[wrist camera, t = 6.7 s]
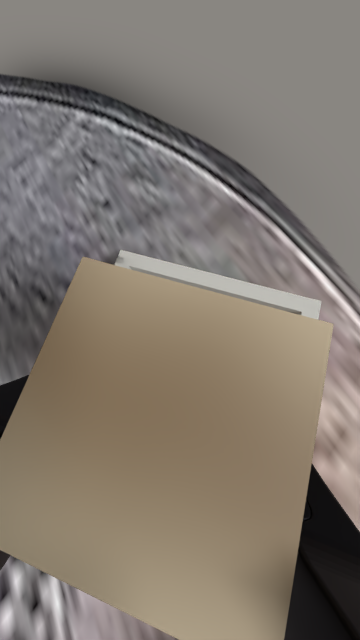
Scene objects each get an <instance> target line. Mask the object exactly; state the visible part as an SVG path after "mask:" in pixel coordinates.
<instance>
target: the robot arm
mask: <svg viewBox="0 0 360 640" xmlns="http://www.w3.org/2000/svg"><path fill="white" fill-rule="evenodd" d="M28 377H29V375H28V376H25V377H22V378H20V379H17V380H14V381H12V382H9V383H6V384H3V385H1V386H0V439H1V437H2V435H3V433H4V430H5V428H6V426H7V424H8V422H9V419H10V417H11V415H12V413H13V410H14V408H15V406H16V404H17V402H18V399H19V397H20V395H21V393H22V390H23V388H24V386H25V384H26V382H27V379H28ZM9 557H10V555H9V554H7V553H5V552H3V551H1V550H0V570H1V569H2V567H3V566H4V564H5V563H6V561H7V560H8V558H9ZM284 640H360V532H359V530H358V529H357V528H356V526H355V525H354V523H353V522H352V521H351V519H350V518H349V516H348V515H347V514H346V512H345V511H344V509H343V508H342V507H341V505H340V504H339V502H338V501H337V500H336V498H335V497H334V495H333V494H332V492H331V491H330V490H329V488H328V487H327V485H326V484H325V482H324V481H323V479H322V478H321V477H320V475H319V473H318V472H317V470H316V469H315V467H314V466H313V464H311V471H310V477H309V483H308V490H307V496H306V503H305V509H304V515H303V522H302V528H301V534H300V541H299V547H298V554H297V560H296V566H295V573H294V579H293V586H292V592H291V598H290V605H289V611H288V617H287V624H286V630H285V637H284Z"/></svg>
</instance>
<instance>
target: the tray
mask: <svg viewBox="0 0 360 640" xmlns="http://www.w3.org/2000/svg"><path fill="white" fill-rule="evenodd" d="M115 265H116V266H119V267H123V268H127V269H131V270H134V271H138V272H142V273H146V274H149V275H153V276H157V277H160V278H164V279H168V280H172V281H175V282H179V283H183V284H186V285H190V286H194V287H198V288H201V289H205V290H209V291H213V292H216V293H220V294H224V295H227V296H231V297H235V298H239V299H242V300H246V301H250V302H253V303H257V304H261V305H265V306H268V307H272V308H276V309H280V310H283V311H287V312H291V313H294V314H298V315H302V316H306V317H309V318H313V319H317V320H318V318H319V312H320V307H321V301H318V300H314V299H311V298H307V297H303V296H299V295H295V294H291V293H287V292H283V291H279V290H275V289H272V288H268V287H264V286H260V285H256V284H252V283H248V282H244V281H240V280H236V279H233V278H229V277H225V276H221V275H217V274H213V273H209V272H205V271H201V270H197V269H194V268H190V267H186V266H182V265H178V264H174V263H170V262H166V261H162V260H158V259H155V258H151V257H147V256H143V255H139V254H135V253H131V252H127V251H123V250H120V253H119V255H118V257H117V260H116V262H115Z"/></svg>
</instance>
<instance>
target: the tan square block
mask: <svg viewBox="0 0 360 640" xmlns="http://www.w3.org/2000/svg"><path fill="white" fill-rule="evenodd" d="M332 330H333V324H332V323H328V322H324V321H321V320H317V319H313V318H309V317H306V316H302V315H298V314H294V313H291V312H287V311H283V310H280V309H276V308H272V307H268V306H265V305H261V304H257V303H253V302H250V301H246V300H242V299H239V298H235V297H231V296H227V295H224V294H220V293H216V292H213V291H209V290H205V289H201V288H198V287H194V286H190V285H186V284H183V283H179V282H175V281H172V280H168V279H164V278H160V277H157V276H153V275H149V274H146V273H142V272H138V271H134V270H131V269H127V268H123V267H119V266H116V265H112V264H108V263H105V262H101V261H97V260H93V259H90V258H86V257H82V260H81V262H80V264H79V266H78V268H77V271H76V273H75V275H74V277H73V280H72V282H71V284H70V286H69V288H68V291H67V293H66V295H65V297H64V299H63V302H62V304H61V306H60V308H59V311H58V313H57V315H56V317H55V319H54V322H53V324H52V326H51V328H50V331H49V333H48V335H47V337H46V339H45V342H44V344H43V346H42V348H41V351H40V353H39V355H38V357H37V359H36V362H35V364H34V366H33V368H32V370H31V373H30V375H29V377H28V379H27V382H26V384H25V386H24V388H23V390H22V393H21V395H20V397H19V399H18V402H17V404H16V406H15V408H14V410H13V413H12V415H11V417H10V419H9V422H8V424H7V426H6V428H5V430H4V433H3V435H2V437H1V439H0V550H1V551H3V552H5V553H7V554H9V555H11V556H13V557H15V558H17V559H19V560H21V561H23V562H25V563H27V564H29V565H31V566H33V567H35V568H37V569H39V570H41V571H43V572H45V573H47V574H49V575H51V576H53V577H55V578H57V579H59V580H61V581H63V582H65V583H67V584H69V585H71V586H73V587H75V588H77V589H79V590H81V591H83V592H85V593H87V594H89V595H91V596H93V597H95V598H97V599H99V600H101V601H103V602H105V603H107V604H109V605H111V606H113V607H115V608H117V609H119V610H121V611H123V612H125V613H127V614H129V615H131V616H133V617H135V618H137V619H139V620H141V621H143V622H145V623H147V624H149V625H151V626H153V627H155V628H157V629H159V630H161V631H163V632H165V633H167V634H169V635H171V636H173V637H175V638H177V639H179V640H284V637H285V630H286V624H287V617H288V611H289V605H290V598H291V592H292V586H293V579H294V573H295V566H296V560H297V554H298V547H299V541H300V534H301V528H302V522H303V515H304V509H305V503H306V496H307V490H308V483H309V477H310V471H311V464H312V458H313V452H314V445H315V439H316V432H317V426H318V420H319V413H320V407H321V400H322V394H323V388H324V381H325V375H326V369H327V362H328V356H329V349H330V343H331V337H332Z"/></svg>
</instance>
